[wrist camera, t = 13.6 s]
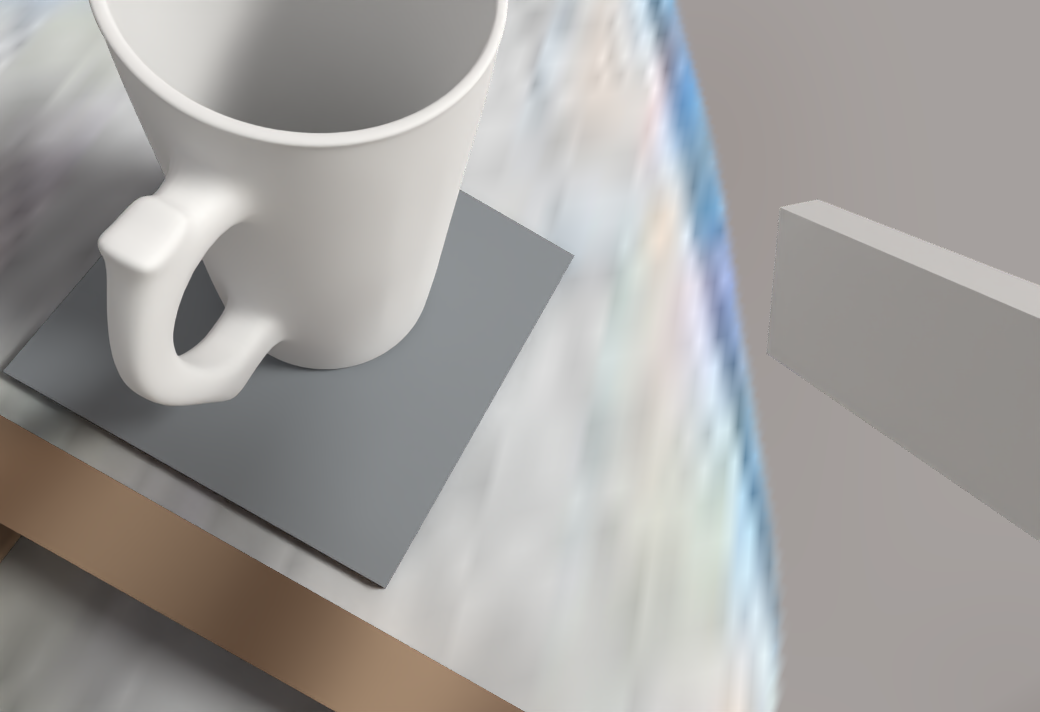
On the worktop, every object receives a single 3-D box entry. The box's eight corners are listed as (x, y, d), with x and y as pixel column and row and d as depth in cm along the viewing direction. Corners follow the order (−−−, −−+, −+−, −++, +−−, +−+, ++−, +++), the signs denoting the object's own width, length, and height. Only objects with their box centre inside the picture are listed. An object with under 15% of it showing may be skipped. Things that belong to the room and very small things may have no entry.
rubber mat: (8, 375, 22) (3, 371, 21) (259, 80, 26) (258, 72, 26) (384, 588, 22) (385, 588, 22) (571, 260, 26) (574, 255, 26)
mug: (290, 142, 25) (244, -242, 14) (474, 242, 25) (571, -60, 14) (89, 405, 21) (-191, 161, 10) (307, 522, 22) (262, 404, 10)
